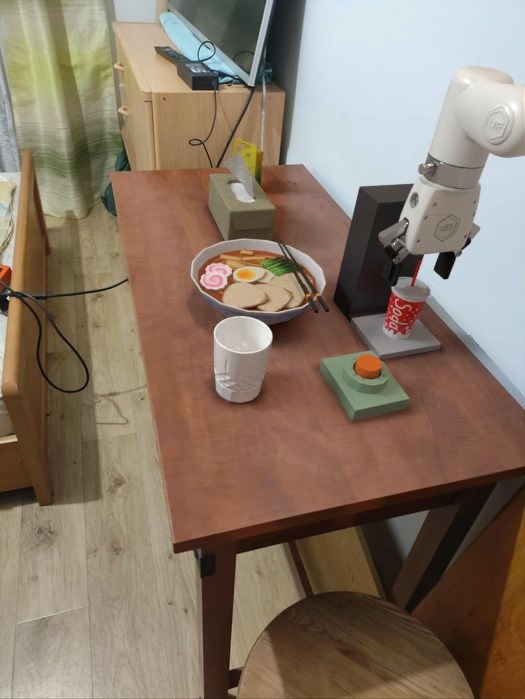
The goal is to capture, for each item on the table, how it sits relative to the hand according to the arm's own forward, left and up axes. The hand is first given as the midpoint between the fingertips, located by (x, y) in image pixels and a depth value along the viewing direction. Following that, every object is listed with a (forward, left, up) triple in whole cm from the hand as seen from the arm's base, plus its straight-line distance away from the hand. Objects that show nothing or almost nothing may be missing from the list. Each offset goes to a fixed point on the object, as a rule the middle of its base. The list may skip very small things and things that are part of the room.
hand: (414, 278), depth 80 cm
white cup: (-5, +30, -12) cm, 33 cm away
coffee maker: (+4, 0, -12) cm, 12 cm away
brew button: (-10, +12, -8) cm, 18 cm away
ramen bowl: (+13, +21, -12) cm, 28 cm away
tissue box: (+43, +14, -12) cm, 47 cm away
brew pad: (-10, +12, -12) cm, 20 cm away
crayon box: (+62, +6, -12) cm, 64 cm away
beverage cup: (0, 0, -11) cm, 11 cm away
